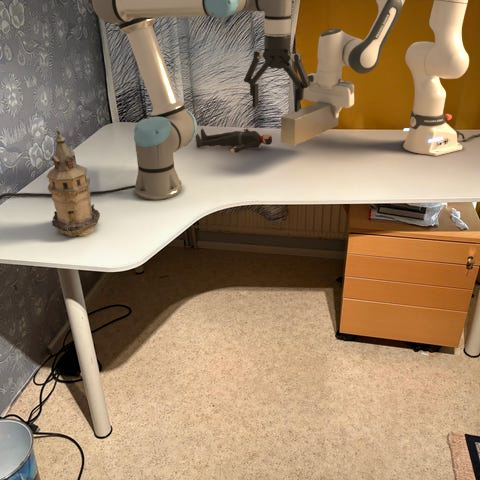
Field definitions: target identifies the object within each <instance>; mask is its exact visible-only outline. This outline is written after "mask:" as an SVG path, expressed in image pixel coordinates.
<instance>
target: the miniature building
mask: <svg viewBox="0 0 480 480" xmlns="http://www.w3.org/2000/svg"><path fill="white" fill-rule="evenodd" d="M56 134H57V136H56V138H55V140H54V141H55V142H56V147H55V154H54V156H52V157H51V161H52V162H53V165H54V167H53V168H51V169H50V170H49V171H48V173H47V174H46V178H47V179H48V182H49V184H48V186H47V190H48V191H49V193H50V194H52V196H51V200H52V201H53V205H54V209H55V211H53V217H52V220H51V223H52V225H51V227H54V228H56V229H58V230H59V231H60V234H63V235H64V234H65V235H66V236H69V237H77V236H80V237H83V236H87V235H88V234H90V233H93V232H94V231H95V229H96V226H97V225H98V223H99V220H100V216H101V213H100V212H99V210H98V209H96V208H95V204H92V201H91V200H92V199H91V198H92V197H91V195H90V192H92V190H91V188H90V184H91V178H89V177H88V174H87V167H85V166H84V165H83V166H82V165H80V164H77V160H76V154H75V151H74V150H70V149H69V147H68V145H67V143H66V138H65V137H64V136H63V135H61V130H60V129H56Z"/></svg>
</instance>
